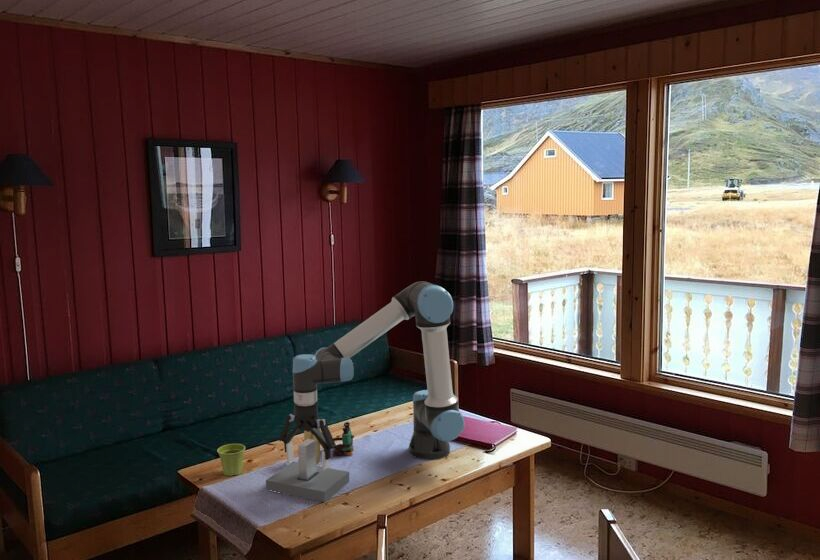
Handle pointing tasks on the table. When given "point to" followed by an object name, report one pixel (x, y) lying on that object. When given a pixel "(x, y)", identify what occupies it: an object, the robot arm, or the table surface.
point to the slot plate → (315, 488)
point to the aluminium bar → (307, 460)
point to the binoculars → (345, 441)
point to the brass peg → (311, 436)
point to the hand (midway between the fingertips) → (307, 465)
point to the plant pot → (231, 458)
